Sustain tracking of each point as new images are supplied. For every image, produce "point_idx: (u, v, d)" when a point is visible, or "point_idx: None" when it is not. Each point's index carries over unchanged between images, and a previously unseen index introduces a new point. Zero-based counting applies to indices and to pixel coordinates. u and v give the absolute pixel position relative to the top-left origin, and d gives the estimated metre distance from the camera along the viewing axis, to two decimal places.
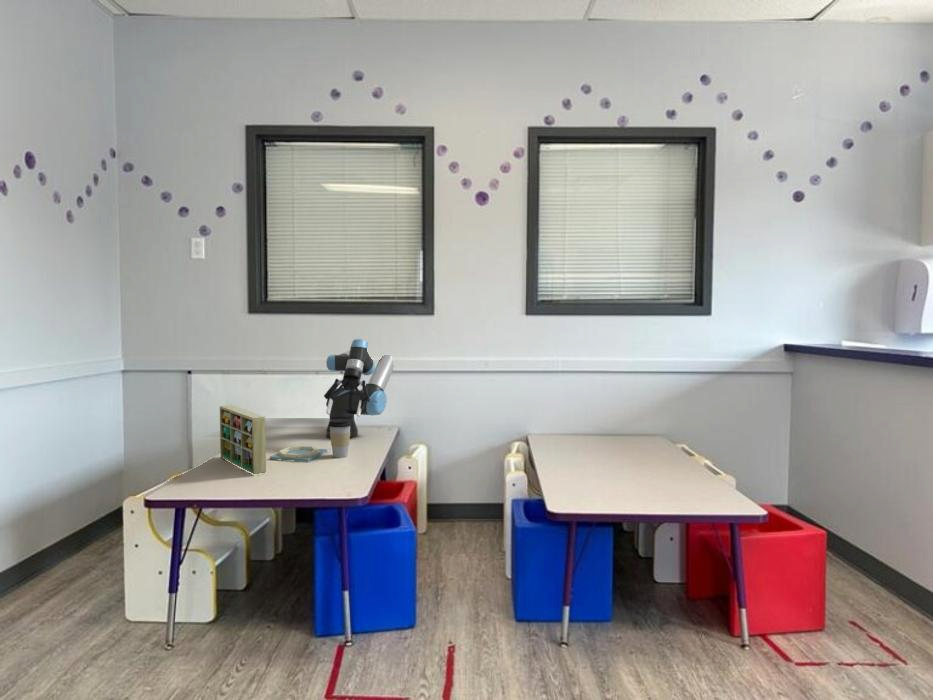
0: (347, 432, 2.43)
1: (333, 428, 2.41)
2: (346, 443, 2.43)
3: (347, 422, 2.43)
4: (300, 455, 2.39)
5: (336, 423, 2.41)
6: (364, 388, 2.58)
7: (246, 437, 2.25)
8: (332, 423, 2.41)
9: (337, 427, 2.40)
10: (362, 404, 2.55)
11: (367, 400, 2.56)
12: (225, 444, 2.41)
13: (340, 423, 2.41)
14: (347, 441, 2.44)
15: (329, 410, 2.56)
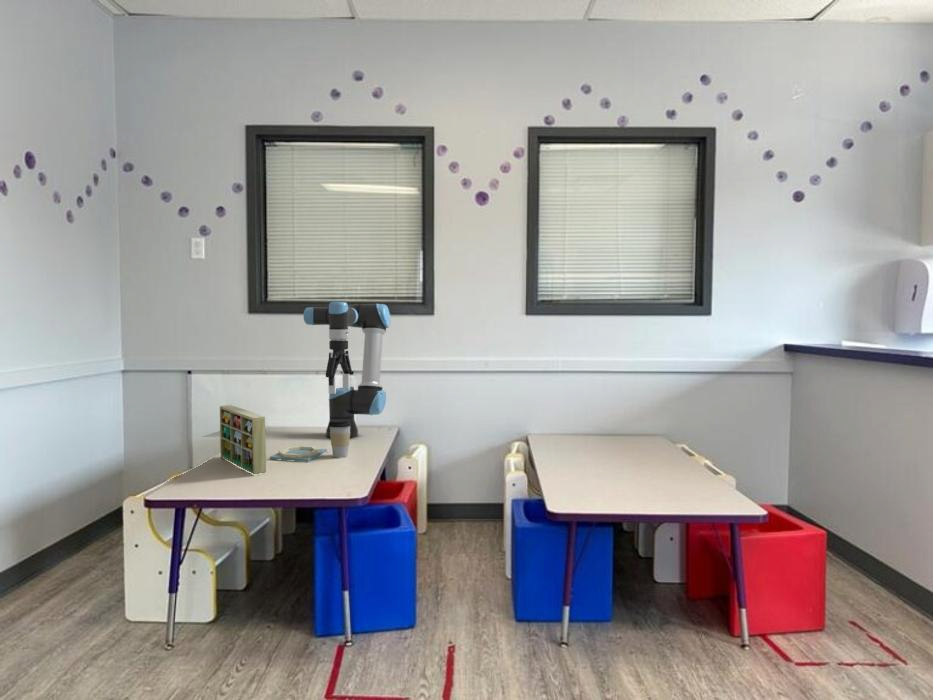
0: (347, 432, 2.43)
1: (333, 428, 2.41)
2: (346, 443, 2.43)
3: (347, 422, 2.43)
4: (300, 455, 2.39)
5: (336, 423, 2.41)
6: (348, 360, 2.50)
7: (246, 437, 2.25)
8: (332, 423, 2.41)
9: (337, 427, 2.40)
10: None
11: None
12: (225, 444, 2.41)
13: (340, 423, 2.41)
14: (347, 441, 2.44)
15: None
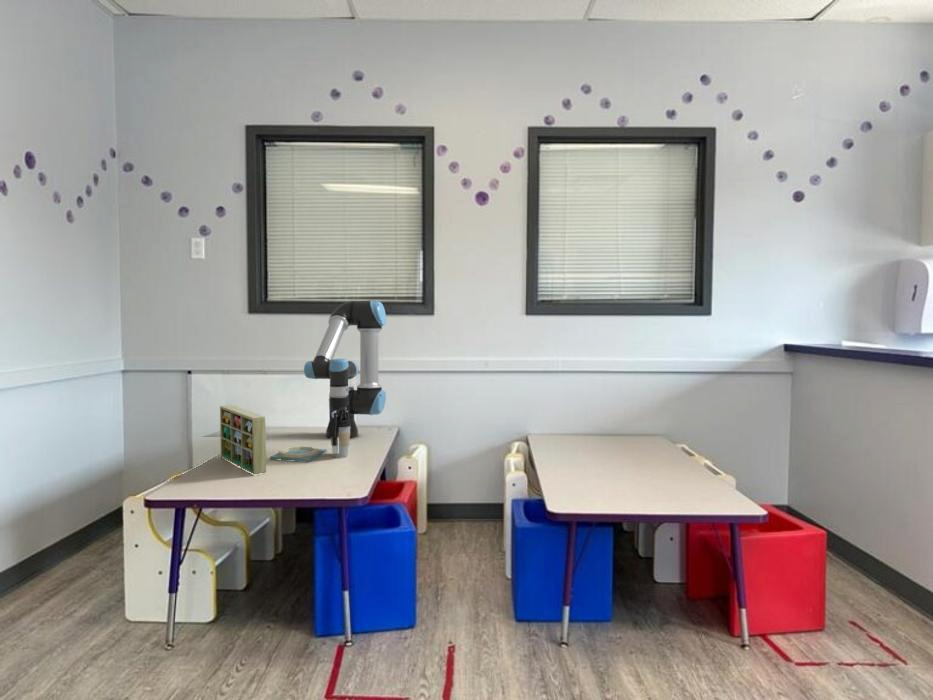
0: (347, 432, 2.43)
1: None
2: (346, 443, 2.43)
3: (347, 422, 2.43)
4: (300, 455, 2.39)
5: None
6: (348, 417, 2.50)
7: (246, 437, 2.25)
8: None
9: None
10: None
11: None
12: (225, 444, 2.41)
13: (340, 423, 2.41)
14: (347, 441, 2.44)
15: None
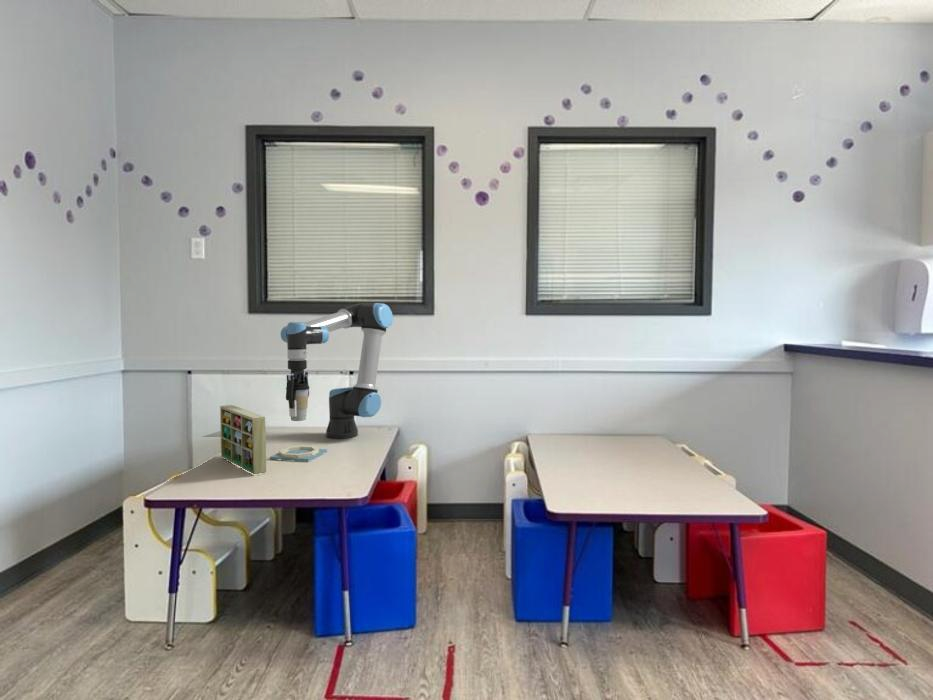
0: (305, 395, 2.43)
1: None
2: (304, 407, 2.43)
3: (305, 385, 2.42)
4: (300, 455, 2.39)
5: None
6: (307, 381, 2.50)
7: (246, 437, 2.25)
8: None
9: None
10: None
11: None
12: (226, 444, 2.41)
13: (297, 386, 2.40)
14: (305, 404, 2.43)
15: None
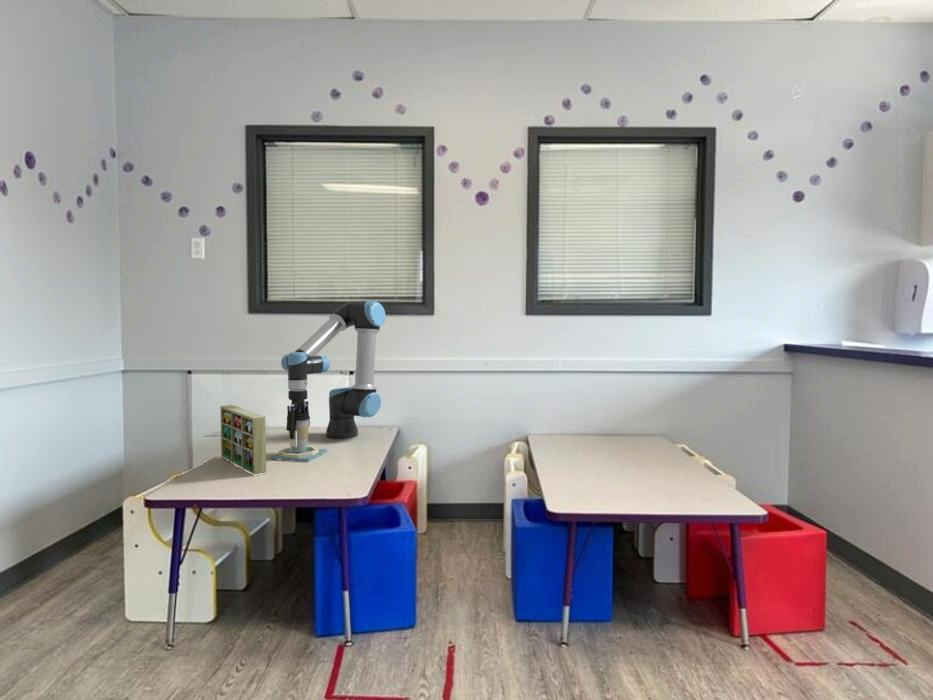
0: (305, 425, 2.43)
1: None
2: (304, 437, 2.44)
3: (305, 415, 2.43)
4: (300, 455, 2.39)
5: (294, 416, 2.41)
6: (308, 411, 2.51)
7: (246, 437, 2.25)
8: None
9: (295, 420, 2.41)
10: None
11: None
12: (226, 444, 2.41)
13: (298, 416, 2.41)
14: (305, 434, 2.44)
15: None
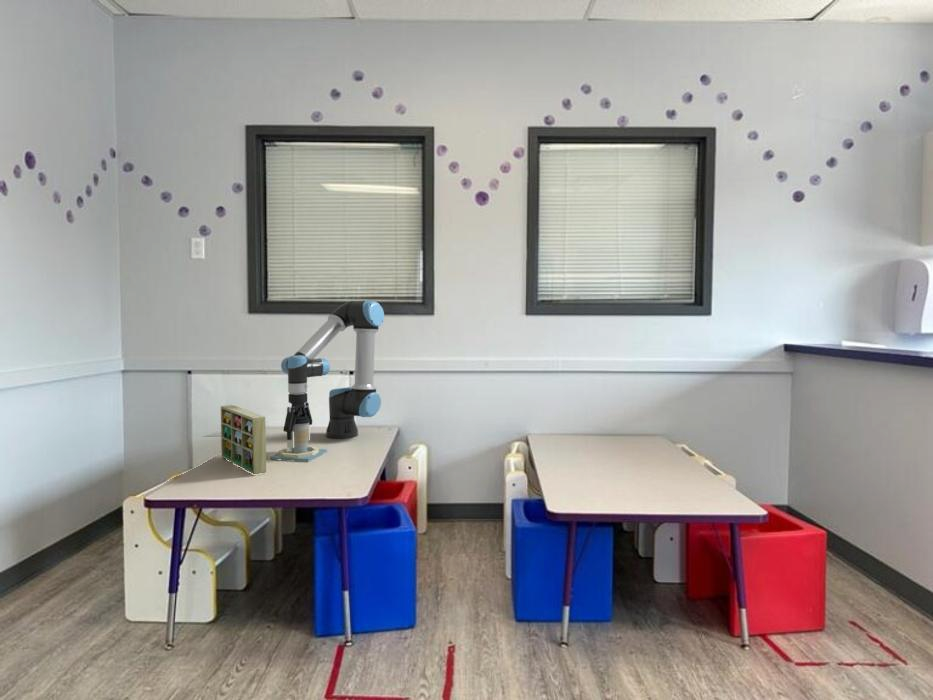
0: (306, 429, 2.44)
1: None
2: (305, 440, 2.44)
3: (305, 419, 2.43)
4: (300, 455, 2.39)
5: None
6: (309, 411, 2.52)
7: (247, 437, 2.25)
8: None
9: (295, 424, 2.41)
10: None
11: (309, 422, 2.55)
12: (226, 444, 2.41)
13: (298, 420, 2.41)
14: (306, 438, 2.44)
15: None
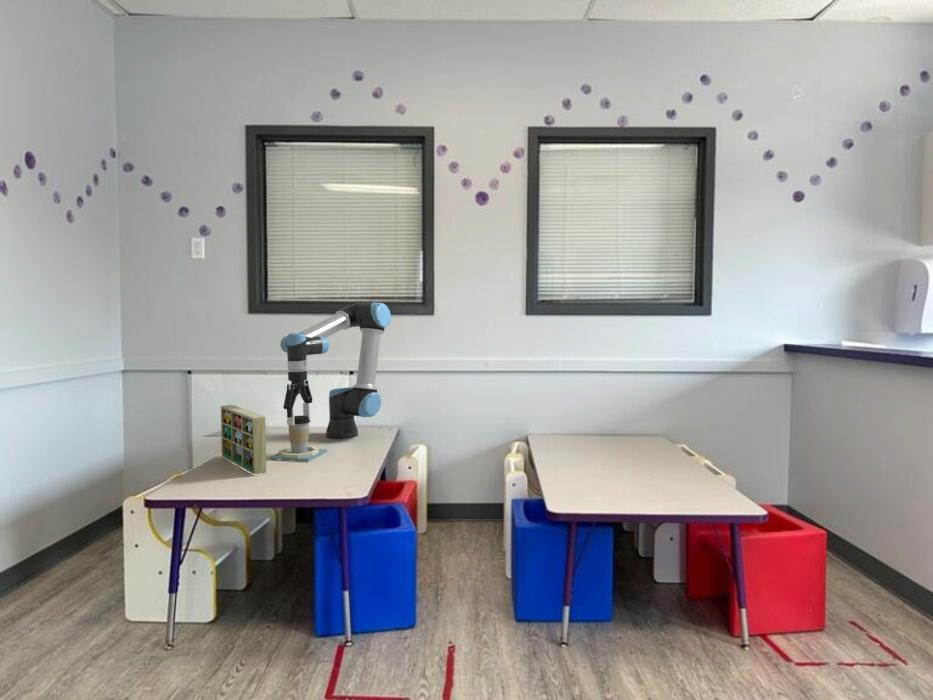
0: (306, 429, 2.44)
1: (291, 425, 2.42)
2: (305, 440, 2.44)
3: (305, 419, 2.43)
4: (300, 455, 2.39)
5: (294, 420, 2.41)
6: (309, 389, 2.51)
7: (247, 437, 2.25)
8: None
9: (295, 424, 2.41)
10: None
11: None
12: (226, 444, 2.42)
13: (298, 420, 2.41)
14: (306, 438, 2.44)
15: None
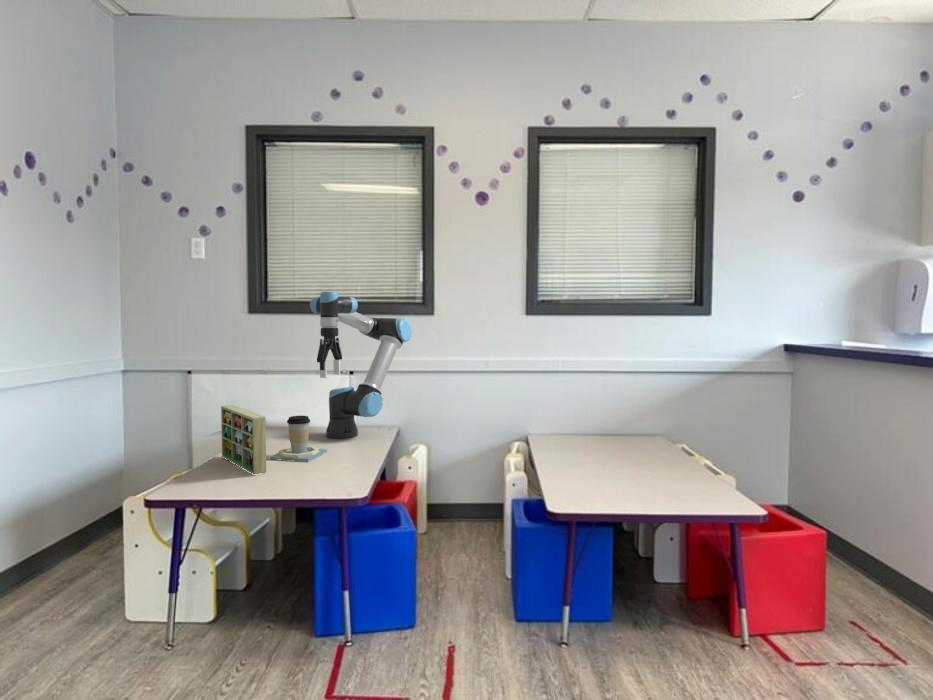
0: (306, 429, 2.44)
1: (291, 425, 2.42)
2: (305, 440, 2.44)
3: (305, 419, 2.43)
4: (300, 455, 2.39)
5: (294, 420, 2.41)
6: (339, 346, 2.64)
7: (247, 437, 2.25)
8: (290, 420, 2.42)
9: (295, 424, 2.41)
10: None
11: None
12: (226, 444, 2.42)
13: (298, 420, 2.41)
14: (306, 438, 2.44)
15: None
